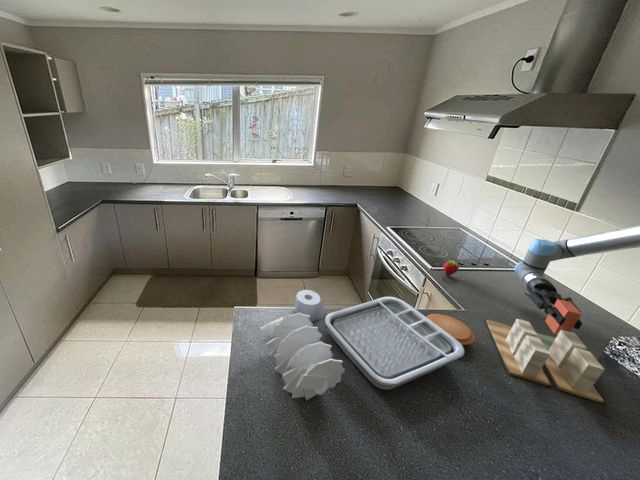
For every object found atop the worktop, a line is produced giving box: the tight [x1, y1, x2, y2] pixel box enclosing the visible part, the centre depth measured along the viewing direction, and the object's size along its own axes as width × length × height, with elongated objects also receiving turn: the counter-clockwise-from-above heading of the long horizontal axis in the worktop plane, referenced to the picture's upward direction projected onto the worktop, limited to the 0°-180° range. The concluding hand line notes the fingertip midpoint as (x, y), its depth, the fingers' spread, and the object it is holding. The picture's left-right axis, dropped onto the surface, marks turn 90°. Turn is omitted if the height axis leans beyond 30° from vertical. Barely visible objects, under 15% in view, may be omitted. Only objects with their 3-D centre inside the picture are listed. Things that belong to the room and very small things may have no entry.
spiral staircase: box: [260, 312, 346, 401], centre depth 85 cm, size 18×18×25 cm
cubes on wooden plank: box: [536, 330, 605, 404], centre depth 93 cm, size 26×10×11 cm, turn 156°
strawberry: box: [443, 259, 459, 277], centre depth 141 cm, size 6×8×10 cm
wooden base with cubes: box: [485, 318, 552, 387], centre depth 97 cm, size 26×10×11 cm, turn 156°
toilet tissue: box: [293, 289, 326, 323], centre depth 112 cm, size 9×13×9 cm
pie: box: [425, 313, 476, 347], centre depth 104 cm, size 15×16×5 cm
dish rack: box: [324, 296, 465, 391], centre depth 96 cm, size 32×37×8 cm
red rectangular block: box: [544, 299, 583, 336], centre depth 97 cm, size 7×4×10 cm, turn 156°
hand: (570, 323), depth 93 cm, fingers closed on red rectangular block, 3 cm apart
